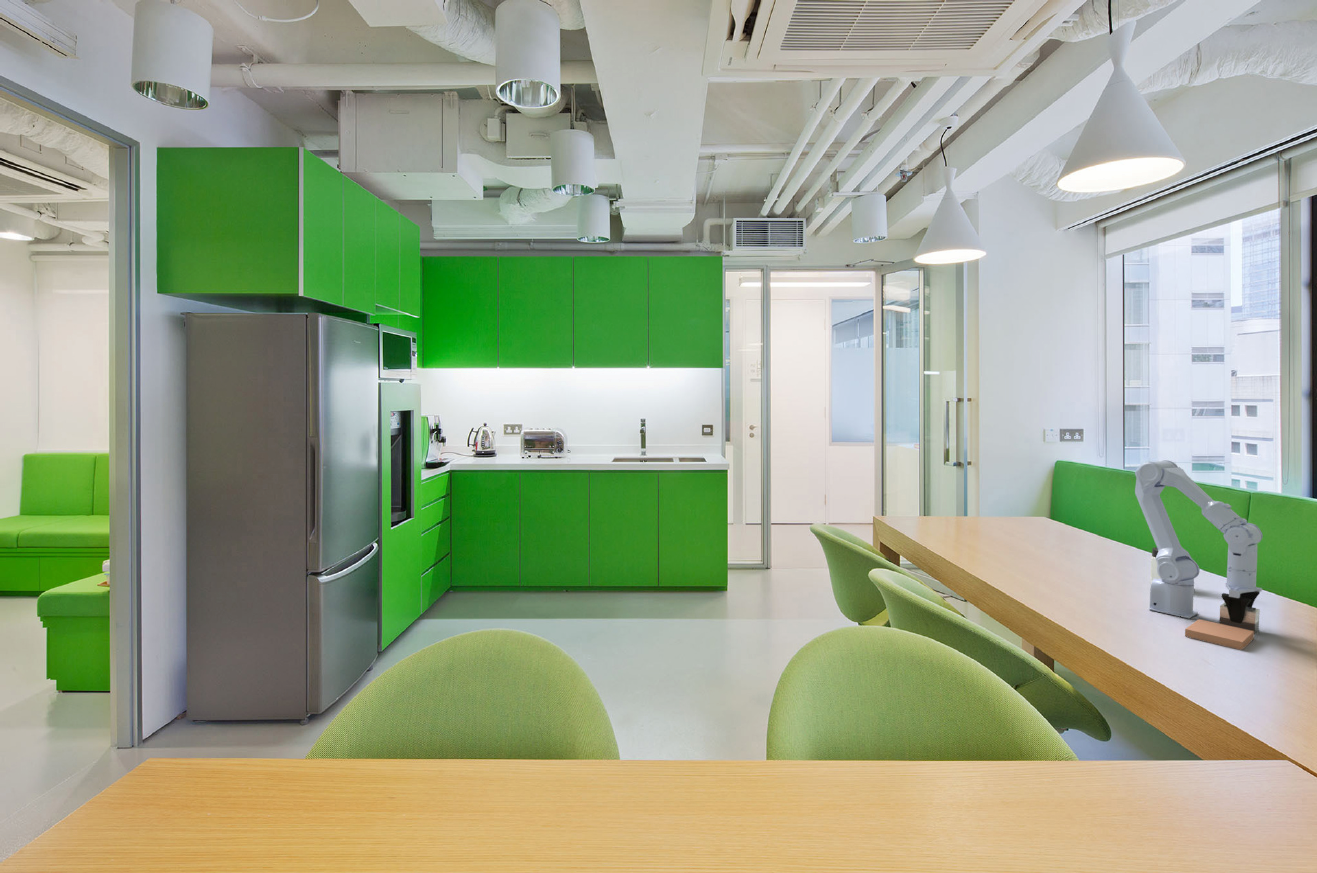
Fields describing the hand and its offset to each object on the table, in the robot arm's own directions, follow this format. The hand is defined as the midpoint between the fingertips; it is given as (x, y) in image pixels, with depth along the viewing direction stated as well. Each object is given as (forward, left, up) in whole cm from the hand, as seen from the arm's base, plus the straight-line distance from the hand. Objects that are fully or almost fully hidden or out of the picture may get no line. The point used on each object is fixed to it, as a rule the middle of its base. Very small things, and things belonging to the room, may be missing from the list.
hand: (1239, 619), depth 166 cm
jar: (-24, +33, -3) cm, 41 cm away
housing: (0, 0, -3) cm, 3 cm away
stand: (-2, -12, -3) cm, 12 cm away
